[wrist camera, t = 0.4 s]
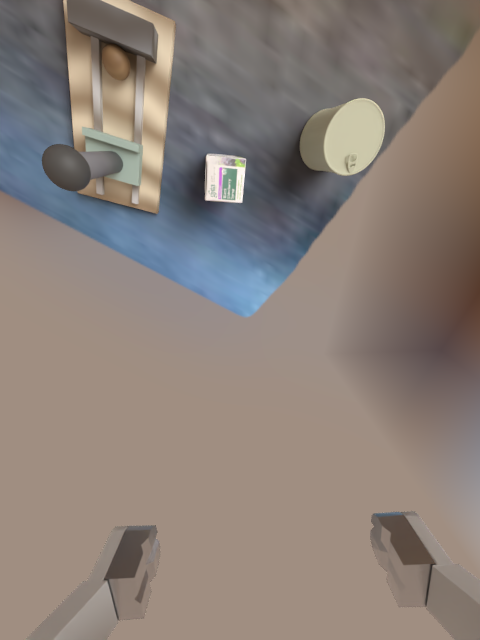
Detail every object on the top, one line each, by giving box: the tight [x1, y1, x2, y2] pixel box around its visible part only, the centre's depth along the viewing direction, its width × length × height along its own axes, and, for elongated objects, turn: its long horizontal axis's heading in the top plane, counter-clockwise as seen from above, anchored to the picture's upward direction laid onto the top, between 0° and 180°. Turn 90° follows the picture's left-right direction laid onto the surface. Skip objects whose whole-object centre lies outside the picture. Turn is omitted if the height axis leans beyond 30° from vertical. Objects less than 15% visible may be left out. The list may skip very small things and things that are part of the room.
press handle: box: [42, 127, 143, 191], centre depth 33 cm, size 6×8×20 cm
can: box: [300, 98, 385, 176], centre depth 40 cm, size 9×9×12 cm
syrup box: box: [205, 154, 246, 203], centre depth 40 cm, size 6×6×14 cm
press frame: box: [63, 0, 176, 214], centre depth 38 cm, size 26×14×6 cm, turn 164°
